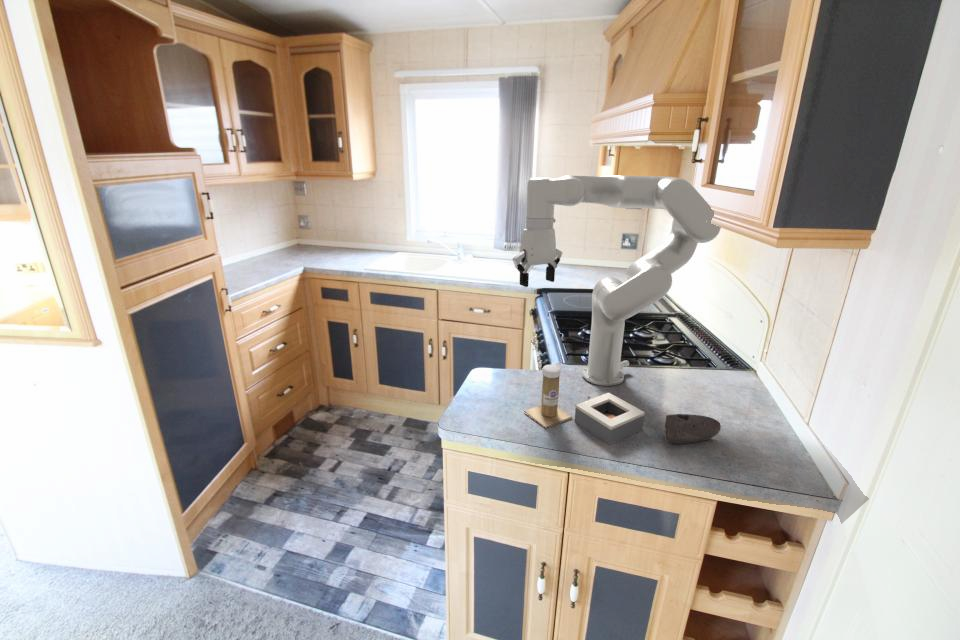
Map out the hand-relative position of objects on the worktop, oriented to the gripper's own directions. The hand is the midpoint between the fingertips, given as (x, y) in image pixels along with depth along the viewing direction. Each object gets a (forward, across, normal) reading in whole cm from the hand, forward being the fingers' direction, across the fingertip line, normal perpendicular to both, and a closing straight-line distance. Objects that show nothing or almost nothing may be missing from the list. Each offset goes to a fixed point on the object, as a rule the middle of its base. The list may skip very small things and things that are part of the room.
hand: (537, 283), depth 133 cm
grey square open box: (+30, +1, +32) cm, 44 cm away
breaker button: (+30, +1, +32) cm, 44 cm away
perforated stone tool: (+31, -11, +47) cm, 57 cm away
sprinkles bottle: (+30, +11, +20) cm, 37 cm away
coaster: (+30, +11, +20) cm, 38 cm away
